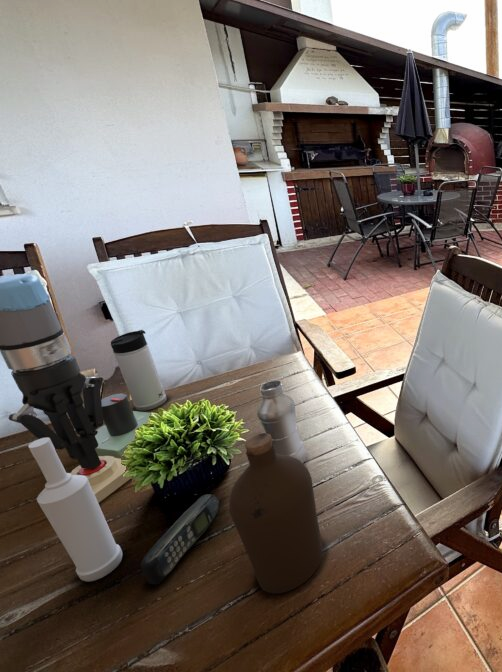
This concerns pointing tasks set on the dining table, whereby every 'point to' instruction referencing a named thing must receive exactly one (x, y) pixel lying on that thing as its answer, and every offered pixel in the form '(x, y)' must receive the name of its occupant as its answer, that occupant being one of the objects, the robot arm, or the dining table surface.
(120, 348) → the travel mug
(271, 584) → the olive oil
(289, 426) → the plastic bottle
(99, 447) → the control panel
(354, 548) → the dining table surface
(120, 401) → the timer dial
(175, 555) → the mobile phone
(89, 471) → the power button
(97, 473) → the button block
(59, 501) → the bottle
